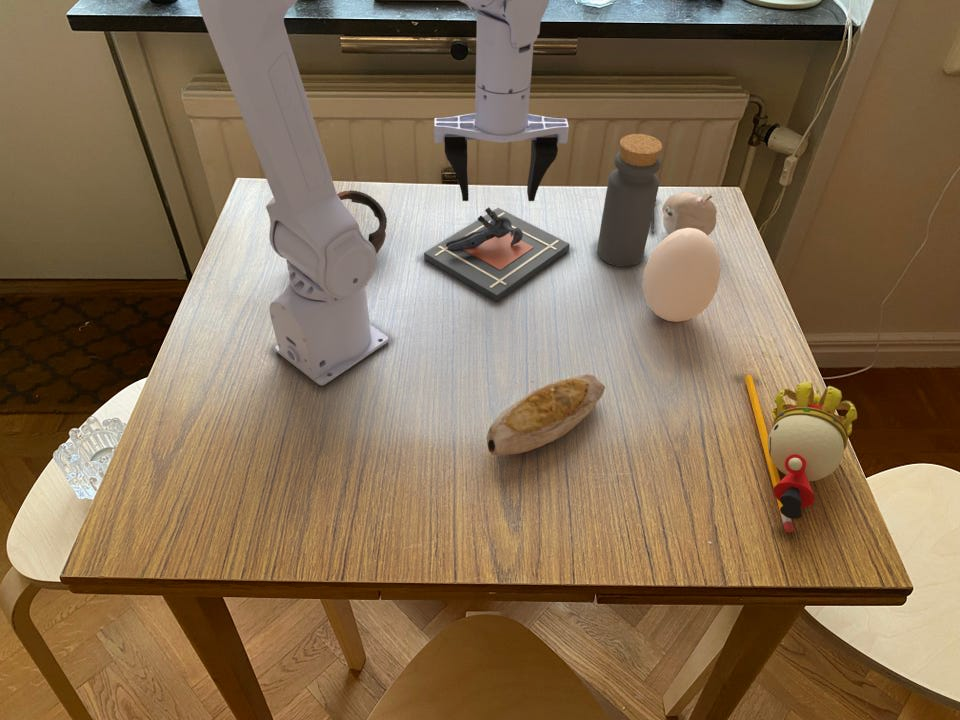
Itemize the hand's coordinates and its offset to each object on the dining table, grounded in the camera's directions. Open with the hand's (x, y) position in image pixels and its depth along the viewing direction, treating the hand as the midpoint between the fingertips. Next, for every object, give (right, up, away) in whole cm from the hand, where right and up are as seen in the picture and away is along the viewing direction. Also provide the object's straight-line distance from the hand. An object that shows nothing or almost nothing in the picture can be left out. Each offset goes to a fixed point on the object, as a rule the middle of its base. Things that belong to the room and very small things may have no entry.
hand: (498, 196), depth 83 cm
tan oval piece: (+4, -26, -14) cm, 30 cm away
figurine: (-3, -1, +3) cm, 4 cm away
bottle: (+16, -6, +7) cm, 18 cm away
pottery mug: (-20, -6, +6) cm, 21 cm away
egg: (+20, -14, -2) cm, 24 cm away
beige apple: (+24, -3, +9) cm, 26 cm away
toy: (+24, -32, -24) cm, 46 cm away
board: (0, -6, +6) cm, 8 cm away
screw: (+22, 0, +12) cm, 25 cm away
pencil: (+25, -28, -15) cm, 40 cm away
